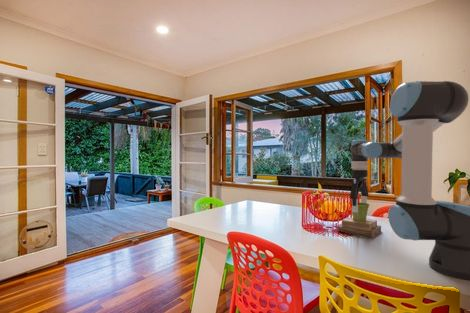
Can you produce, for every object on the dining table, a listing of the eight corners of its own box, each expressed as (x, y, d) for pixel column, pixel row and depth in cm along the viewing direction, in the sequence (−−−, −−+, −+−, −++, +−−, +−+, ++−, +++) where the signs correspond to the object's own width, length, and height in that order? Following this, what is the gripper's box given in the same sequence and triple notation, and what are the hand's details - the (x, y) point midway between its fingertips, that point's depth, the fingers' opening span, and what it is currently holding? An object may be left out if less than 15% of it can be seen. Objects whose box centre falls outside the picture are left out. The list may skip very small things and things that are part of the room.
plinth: (371, 238, 121) (371, 226, 121) (337, 231, 132) (337, 220, 132) (381, 231, 133) (381, 220, 133) (349, 225, 144) (349, 215, 144)
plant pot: (370, 219, 134) (370, 203, 134) (369, 223, 126) (369, 206, 126) (350, 217, 139) (350, 201, 139) (348, 221, 131) (348, 204, 131)
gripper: (358, 170, 121) (358, 215, 121) (374, 168, 139) (374, 207, 139) (342, 169, 126) (342, 212, 126) (360, 168, 144) (360, 205, 144)
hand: (359, 210), depth 132 cm, fingers open, 13 cm apart
